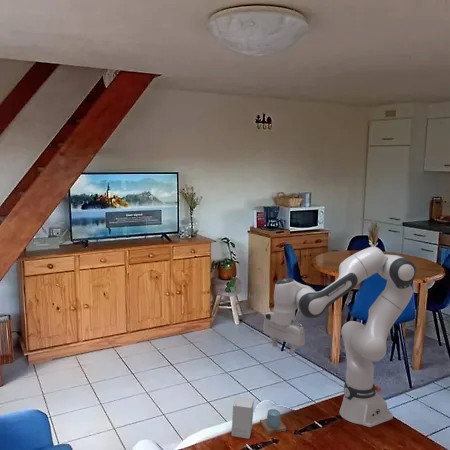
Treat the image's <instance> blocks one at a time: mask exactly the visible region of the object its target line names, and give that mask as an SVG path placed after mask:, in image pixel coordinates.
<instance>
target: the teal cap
mask: <svg viewBox="0 0 450 450" xmlns="http://www.w3.org/2000/svg"><path fill="white" fill-rule="evenodd" d="M266 416H267V418H266V419H267V425H268V426H269V427H272V428H277V427H279V426H280V421H281V411H280V410H279V409H276V408H275V409H274V408H270V409H268V410H267V415H266Z"/></svg>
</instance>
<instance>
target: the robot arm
mask: <svg viewBox="0 0 450 450" xmlns="http://www.w3.org/2000/svg"><path fill="white" fill-rule="evenodd" d="M375 274H376V275H378V276H379V277H380V278H382V279H384V280H386V283H385V288H384V290H382V291H381V292H380V294H379V295H378V296H377V298H376V299H375V300H374V301H373V303H372V304H371V306H370V307H369V309H368V317H367V320H366V323H365V324H363V323H362V322H359V321H354V320H349V321H347V322H346V323H344V324H343V326H342V327H341V331H340V334H341V337H342V340H343V345H344V352H345V359H346V373H345V380H344V383H343V399H342V402H341V406H340V409H339V411H338V412H339V415H340V416H341V418H342V419H344V420H346V421H348V422H350V423H353V424H355V425H356V424H357V425H361V426H365V427H368V428H372V427H375V426H377V425H380V424H383V423H385V422H388V421H391V420H393V419H394V415H393V413H392V412H391V411H390V409H388V404H387V402H386V400H385V399H384V398H383V397H382V396H381V395H379V394H378V393H380V392H381V390H382V389H381V387H380V386H378V385H375V384H374V376H375V375H374V374H375V367H374V364H373V362H379V361H381V360H382V359H383V358H384V357H385V355H386V353H387V349H388V348H387V340H388V337H389V334H390V331H391V329H392V327H393V326H394V324H395V322H396V321H397V319H398V318H399V317H400V315H402V314H403V312H404V310H405V309H406V307H407V306H408V304H409V302H410V301H411V299H412V297H413V295H414V288H413V287H412V285H413V283H414V280H415V278H416V276H417V275H416V274H417V267H416V265H415V264H414V263H413V262H412V261H411V259H409V258H405V257H403V256H400V255H396V254H391V253H384V252H383V251H382V250H381V249H380V248H379V247H377V246H370V247H369V246H368V247H366V248H364V249H362V250H359V251H357V252H356V253H353V254H352V255H350V256H348V257H347V258H345V259H344V260H343V261H341V263H340V264H339V267H338V277H337V279H335V281H333V282H332V283H330V284H329V285H327V286H326V287H325V288H323V289H321V290H319V291H316V290H315V289H313V287H312V286H309V285H307V284H306V285H305V284H302V283H301V282H298V281H296V280H295V279H294V278H291V277H285V278H284V277H283V278H280V279H279V280H277V281H276V283H275V284H274V290H273V291H274V292H273V302H274V303H273V304H274V306H273V310H272V311H268V312H266V313H263V314H264V315H263V317H264V319H263V327H262V329H263V332H264V333H263V334H265V335H267V336H269V339H270V341H271V345H272V347H274V348H276V347H278V346H279V345H278V344H279V343H278V342H277V340H280V341H282V342H285V343H288V344H290V347H291V348H289V350H288V353H289V354H290V355H294V354H296V352H295V351H296V349H297V348H300V347H303V346H304V345H305V344H306V334H305V327H304V326H303V324H302V323H301V322H297V321H296V310H299V311H300V312H301V314H302V315H303V316H304V317H306V318H309V319H316V318H319V317H321V316H322V315H323V314H324V313H325V312H326V311H327V309H328V308H329V307H330V306H331V305H332V304H333V303H335V302H337V301H338V300H339V299H341V298H342V297H344V296H345V295H347V294H348V293H350V292H351V291H352V290H353V289H354V288H355V287H356V286H357V285H359V284H360V283H361V282H363V281H364V280H366V279H368V278H370V277H371V276H373V275H375ZM276 339H277V340H276Z"/></svg>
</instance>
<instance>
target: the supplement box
mask: <svg viewBox="0 0 450 450" xmlns="http://www.w3.org/2000/svg"><path fill="white" fill-rule="evenodd" d="M254 401H255V399H253V398H248V397H239V396H236V397H235V399H234V403H233V405H232V419H231V421H232V422H231V437H237V438H243V439H250V437H251V433H252V431H253V418H254V404H255V403H254Z"/></svg>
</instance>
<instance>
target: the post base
mask: <svg viewBox="0 0 450 450" xmlns="http://www.w3.org/2000/svg"><path fill="white" fill-rule="evenodd" d="M259 423H260V425H261V426H262V427H263V429H264V431H265V432H266V433H267V435H271V434H277V433H282V432H281V431H283V432H286V430H287V429H288V428H287V426H286V425H285V424H284V423H283V421H282V420H280V426H279V427H277V428H272V427H269V426H268V425H267V418H266V419H260V420H259ZM287 431H288V430H287ZM276 432H277V433H276Z"/></svg>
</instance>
